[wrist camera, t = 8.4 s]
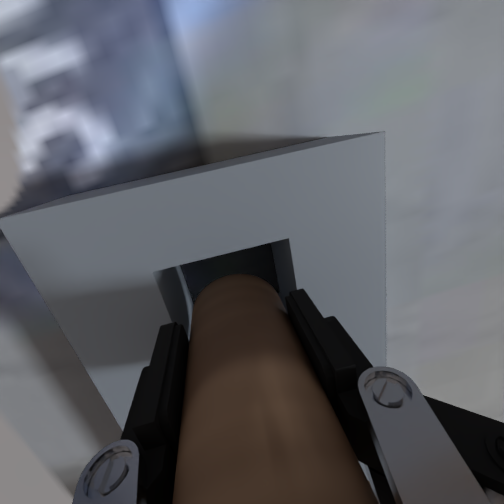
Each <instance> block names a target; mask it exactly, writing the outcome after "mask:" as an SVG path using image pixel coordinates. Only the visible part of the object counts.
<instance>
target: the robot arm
mask: <svg viewBox="0 0 504 504" xmlns="http://www.w3.org/2000/svg"><path fill="white" fill-rule="evenodd" d="M285 300H286V306H287V311H288V316H289V318H290V320H291V322H292V324H293V326H294V329H295V331H296V333H297V335H298V337H299V339H300V341H301V343H302V345H303V347H304V349H305V351H306V353H307V356H308V358H309V360H310V362H311V364H312V366H313V368H314V370H315V372H316V374H317V376H318V378H319V380H320V383H321V385H322V387H323V389H324V391H325V393H326V395H327V397H328V399H329V401H330V403H331V405H332V407H333V409H334V411H335V414H336V416H337V418H338V420H339V422H340V424H341V426H342V428H343V430H344V432H345V434H346V436H347V438H348V440H349V443H350V445H351V447H352V449H353V451H354V453H355V455H356V457H357V459H358V461H360V462H362V463H363V464H364V466H365V469H366V472H367V475H368V478H369V482H370V485H371V488H372V490H373V492H374V494H375V496H376V498H377V501H378V503H379V504H504V423H502V422H499V421H497V420H494V419H491V418H488V417H485V416H482V415H479V414H476V413H473V412H470V411H468V410H465V409H462V408H459V407H456V406H453V405H450V404H447V403H444V402H441V401H438V400H436V399H433V398H430V397H427V396H424V395H422V393H421V392H420V390H419V388H418V387H417V385H416V384H415V383H414V382H413V380H412V379H411V378H410V377H408V376H407V375H406V374H404V373H403V372H401V371H399V370H396V369H394V368H390V367H385V366H376V367H373V365H372V364H371V363H370V362H369V360H368V359H367V358H366V356H365V355H364V354H363V352H362V351H361V350H360V348H359V347H358V346H357V344H356V343H355V342H354V341H353V339H352V338H351V337H350V335H349V334H348V333H347V331H346V330H345V329H344V327H343V326H342V325H341V324H340V322H339V321H338V320H337V318H336V317H335V316H330V317H326V318H324V317H323V316H322V315H321V313H320V312H319V310H318V309H317V307H316V306H315V304H314V303H313V301H312V300H311V299H310V297H309V296H308V294H307V293H306V291H305V290H304V289H303V288H302V289H298V290H294V291H291V292H289V296H286V297H285ZM188 349H189V340H188V337H187V334H186V332H185V329H184V326H183V325H182V324H180V325H178V324H177V322H173V323H169V324H165V325H161V326H160V329H159V332H158V336H157V339H156V343H155V347H154V350H153V354H152V357H151V361H150V364H149V366H146V367H144V368H143V369H142V371H141V374H140V378H139V381H138V384H137V387H136V391H135V394H134V397H133V400H132V404H131V407H130V410H129V413H128V417H127V420H126V423H125V426H124V430H123V433H122V436H121V439H120V440H119V441H116V442H113V443H111V444H109V445H108V446H106V447H104V448H103V449H102V450H101V451H99V452H98V453H97V454H96V455H95V456H94V457H93V458H92V459H91V460H90V462H89V463H88V464H87V465H86V467H85V469H84V470H83V472H82V473H81V475H80V478H79V481H78V483H77V486H76V490H75V494H74V498H73V502H72V504H172V502H173V493H174V483H175V474H176V464H177V454H178V445H179V435H180V425H181V416H182V406H183V397H184V387H185V377H186V368H187V358H188Z"/></svg>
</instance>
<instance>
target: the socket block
mask: <svg viewBox="0 0 504 504" xmlns="http://www.w3.org/2000/svg"><path fill="white" fill-rule="evenodd" d="M0 229H1V230H2V232H3V234H4V235H5V237H6V238H7V240H8V242H9V243H10V245H11V247H12V248H13V250H14V252H15V253H16V255H17V257H18V258H19V260H20V262H21V263H22V265H23V267H24V268H25V270H26V272H27V273H28V275H29V277H30V278H31V280H32V282H33V283H34V285H35V287H36V288H37V290H38V292H39V293H40V295H41V296H42V298H43V300H44V301H45V303H46V305H47V306H48V308H49V310H50V311H51V313H52V315H53V316H54V318H55V320H56V321H57V323H58V325H59V326H60V328H61V330H62V331H63V333H64V335H65V336H66V338H67V340H68V341H69V343H70V345H71V346H72V348H73V350H74V351H75V353H76V355H77V356H78V358H79V359H80V361H81V363H82V364H83V366H84V368H85V369H86V371H87V373H88V374H89V376H90V378H91V379H92V381H93V383H94V384H95V386H96V388H97V389H98V391H99V393H100V394H101V396H102V398H103V399H104V401H105V403H106V404H107V406H108V408H109V409H110V411H111V413H112V414H113V416H114V417H115V419H116V421H117V422H118V424H119V426H120V427H121V429H122V431H123V430H124V426H125V423H126V420H127V417H128V413H129V410H130V407H131V404H132V400H133V397H134V394H135V391H136V387H137V384H138V381H139V378H140V374H141V371H142V369H143V368H144V367H146V366H149V364H150V361H151V357H152V354H153V350H154V347H155V343H156V339H157V336H158V332H159V329H160V326H161V325H165V324H169V323H173V322H177V324H178V325H180V324H182V325H183V326H184V329H185V332H186V334H187V337H188V340H189V339H190V329H191V320H192V311H193V306H194V304H193V301H192V298H191V295H190V292H189V289H188V286H187V284H186V281H185V278H184V275H183V272H182V269H181V266H180V265H182V264H186V263H190V262H194V261H198V260H203V259H207V258H211V257H215V256H219V255H223V254H227V253H231V252H235V251H239V250H243V249H247V248H251V247H255V246H259V245H263V244H267V243H271V247H272V252H273V257H274V263H275V268H276V273H277V279H278V284H279V289H280V293H278V295H279V297H280V300H281V302H282V304H283V306H284V308H285V310H286V312H287V314H288V311H287V306H286V300H285V297H286V296H289V292H291V291H294V290H298V289H302V288H303V289H304V290H305V291H306V293H307V294H308V296H309V297H310V299H311V300H312V301H313V303H314V304H315V306H316V307H317V309H318V310H319V312H320V313H321V315H322V316H323V317H324V318H326V317H330V316H335V317H336V318H337V320H338V321H339V322H340V324H341V325H342V326H343V327H344V329H345V330H346V331H347V333H348V334H349V335H350V337H351V338H352V339H353V341H354V342H355V343H356V344H357V346H358V347H359V348H360V350H361V351H362V352H363V354H364V355H365V356H366V358H367V359H368V360H369V362H370V363H371V364H372V365H373V367H376V366H385V367H386V191H385V131H383V132H374V133H364V134H354V135H344V136H335V137H327V138H322V139H318V140H314V141H309V142H305V143H300V144H296V145H291V146H287V147H282V148H278V149H274V150H269V151H265V152H260V153H256V154H251V155H247V156H242V157H238V158H233V159H229V160H225V161H220V162H216V163H211V164H207V165H202V166H198V167H193V168H189V169H184V170H180V171H176V172H171V173H167V174H162V175H158V176H153V177H149V178H144V179H140V180H136V181H131V182H127V183H122V184H118V185H113V186H109V187H104V188H100V189H95V190H91V191H87V192H82V193H78V194H73V195H69V196H66V197H62V198H59V199H56V200H53V201H50V202H47V203H44V204H41V205H38V206H35V207H32V208H29V209H26V210H23V211H20V212H17V213H14V214H11V215H8V216H5V217H2V218H0ZM359 463H360V465H361V467H362V469H363V472H364V474H365V476H366V478H367V480H368V481H369V478H368V475H367V472H366V469H365V466H364V464H363V463H362V462H360V461H359Z"/></svg>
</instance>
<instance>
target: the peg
mask: <svg viewBox="0 0 504 504" xmlns="http://www.w3.org/2000/svg"><path fill="white" fill-rule="evenodd" d="M172 504H379V503H378V501H377V498H376V496H375V494H374V492H373V490H372V488H371V486H370V484H369V482H368V480H367V478H366V476H365V474H364V472H363V469H362V467H361V465H360V463H359V461H358V459H357V457H356V455H355V453H354V451H353V449H352V447H351V445H350V443H349V440H348V438H347V436H346V434H345V432H344V430H343V428H342V426H341V424H340V422H339V420H338V418H337V416H336V414H335V411H334V409H333V407H332V405H331V403H330V401H329V399H328V397H327V395H326V393H325V391H324V389H323V387H322V385H321V383H320V380H319V378H318V376H317V374H316V372H315V370H314V368H313V366H312V364H311V362H310V360H309V358H308V356H307V353H306V351H305V349H304V347H303V345H302V343H301V341H300V339H299V337H298V335H297V333H296V331H295V329H294V326H293V324H292V322H291V320H290V318H289V316H288V314H287V312H286V310H285V308H284V306H283V304H282V302H281V300H280V297H279V295H278V293H277V292H276V290H275V289H274V288H273V287H272V286H271V285H270V284H269V283H268V282H267V281H265V280H263V279H261V278H259V277H257V276H253V275H249V274H232V275H227V276H224V277H221V278H219V279H217V280H215V281H213V282H211V283H210V284H209V285H207V286H206V287H205V288H204V289H203V290H202V291H201V293H200V294H199V295H198V297H197V299H196V300H195V303H194V306H193V311H192V320H191V329H190V339H189V349H188V358H187V368H186V377H185V387H184V397H183V406H182V416H181V425H180V435H179V445H178V454H177V464H176V474H175V483H174V493H173V502H172Z"/></svg>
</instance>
